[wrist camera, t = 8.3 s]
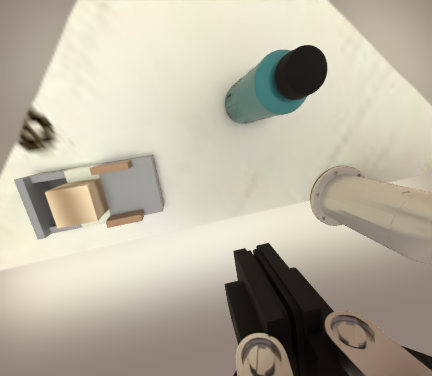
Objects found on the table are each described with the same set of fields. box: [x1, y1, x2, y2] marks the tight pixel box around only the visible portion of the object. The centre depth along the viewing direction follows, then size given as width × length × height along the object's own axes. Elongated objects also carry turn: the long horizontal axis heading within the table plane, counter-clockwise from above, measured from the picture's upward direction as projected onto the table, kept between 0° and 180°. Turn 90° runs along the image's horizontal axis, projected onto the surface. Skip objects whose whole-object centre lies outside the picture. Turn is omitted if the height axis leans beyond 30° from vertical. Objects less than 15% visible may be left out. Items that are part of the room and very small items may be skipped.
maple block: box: [45, 178, 109, 228], centre depth 30 cm, size 5×5×5 cm
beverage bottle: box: [226, 45, 327, 124], centre depth 27 cm, size 6×7×20 cm
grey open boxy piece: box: [14, 155, 164, 239], centre depth 33 cm, size 18×9×6 cm, turn 98°
